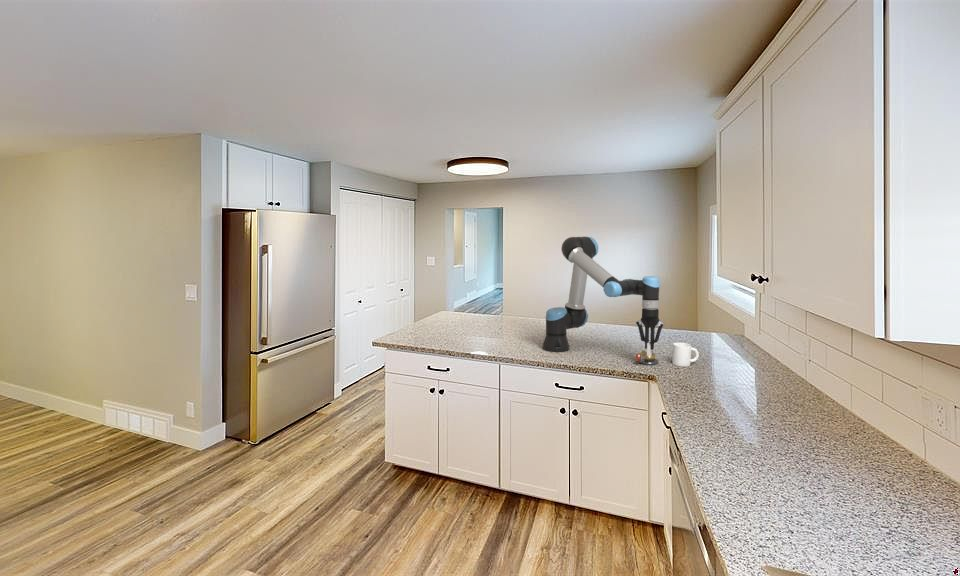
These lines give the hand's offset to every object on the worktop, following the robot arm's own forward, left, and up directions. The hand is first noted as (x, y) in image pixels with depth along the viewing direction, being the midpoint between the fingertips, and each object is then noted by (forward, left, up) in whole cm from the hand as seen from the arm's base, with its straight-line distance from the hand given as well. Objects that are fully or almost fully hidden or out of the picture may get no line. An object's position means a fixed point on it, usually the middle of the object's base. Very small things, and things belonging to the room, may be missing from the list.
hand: (649, 355), depth 205 cm
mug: (+11, +16, -6) cm, 20 cm away
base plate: (-4, +7, -6) cm, 10 cm away
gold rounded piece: (-5, +4, -4) cm, 8 cm away
